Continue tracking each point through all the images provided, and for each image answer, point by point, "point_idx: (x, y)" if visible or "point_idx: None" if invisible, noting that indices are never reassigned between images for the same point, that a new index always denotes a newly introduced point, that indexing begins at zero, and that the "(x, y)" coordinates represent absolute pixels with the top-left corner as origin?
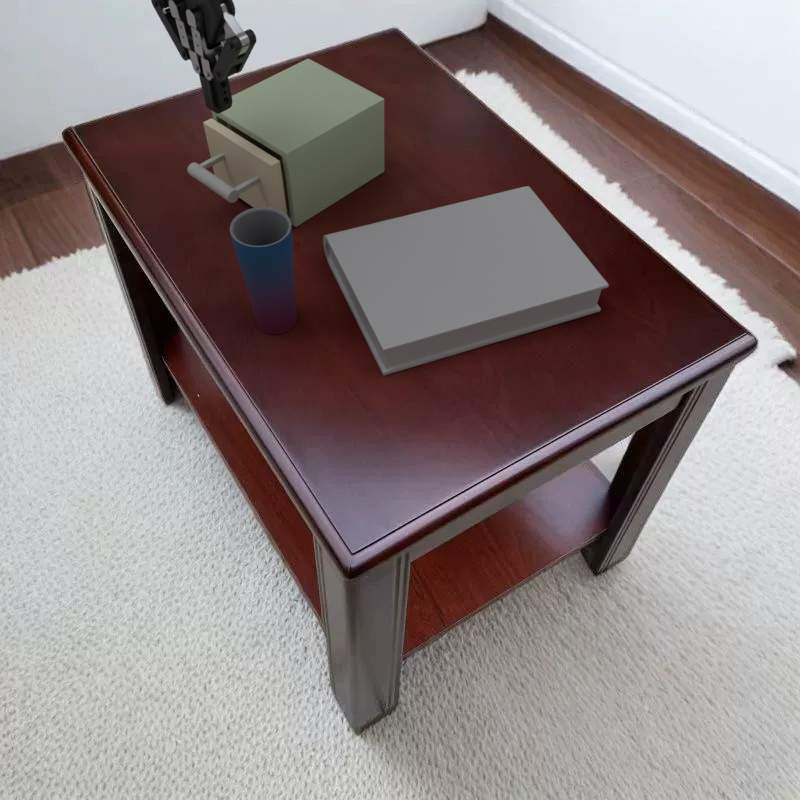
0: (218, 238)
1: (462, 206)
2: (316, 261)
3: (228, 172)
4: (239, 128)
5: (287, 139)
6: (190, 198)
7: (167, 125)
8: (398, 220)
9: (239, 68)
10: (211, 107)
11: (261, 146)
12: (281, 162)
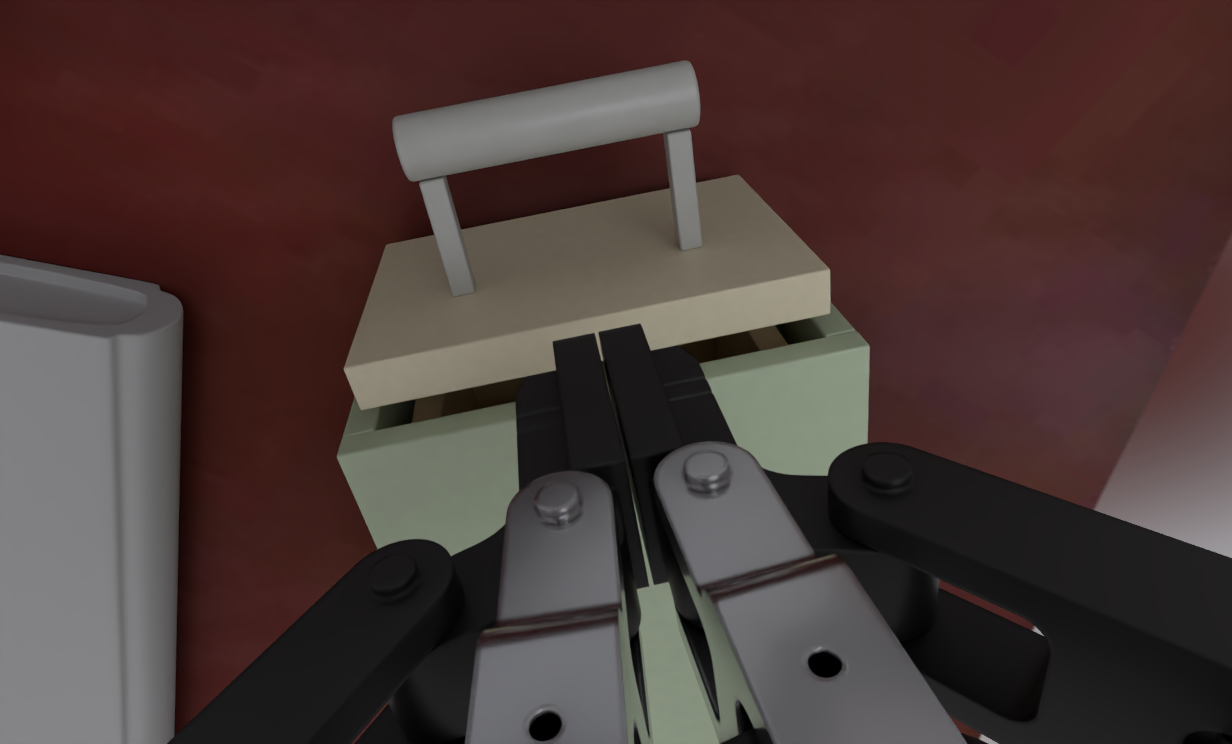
0: (475, 25)
1: (98, 697)
2: (185, 257)
3: (660, 223)
4: None
5: (436, 497)
6: (748, 53)
7: (1143, 188)
8: (99, 550)
9: (374, 725)
10: (584, 344)
11: None
12: None
